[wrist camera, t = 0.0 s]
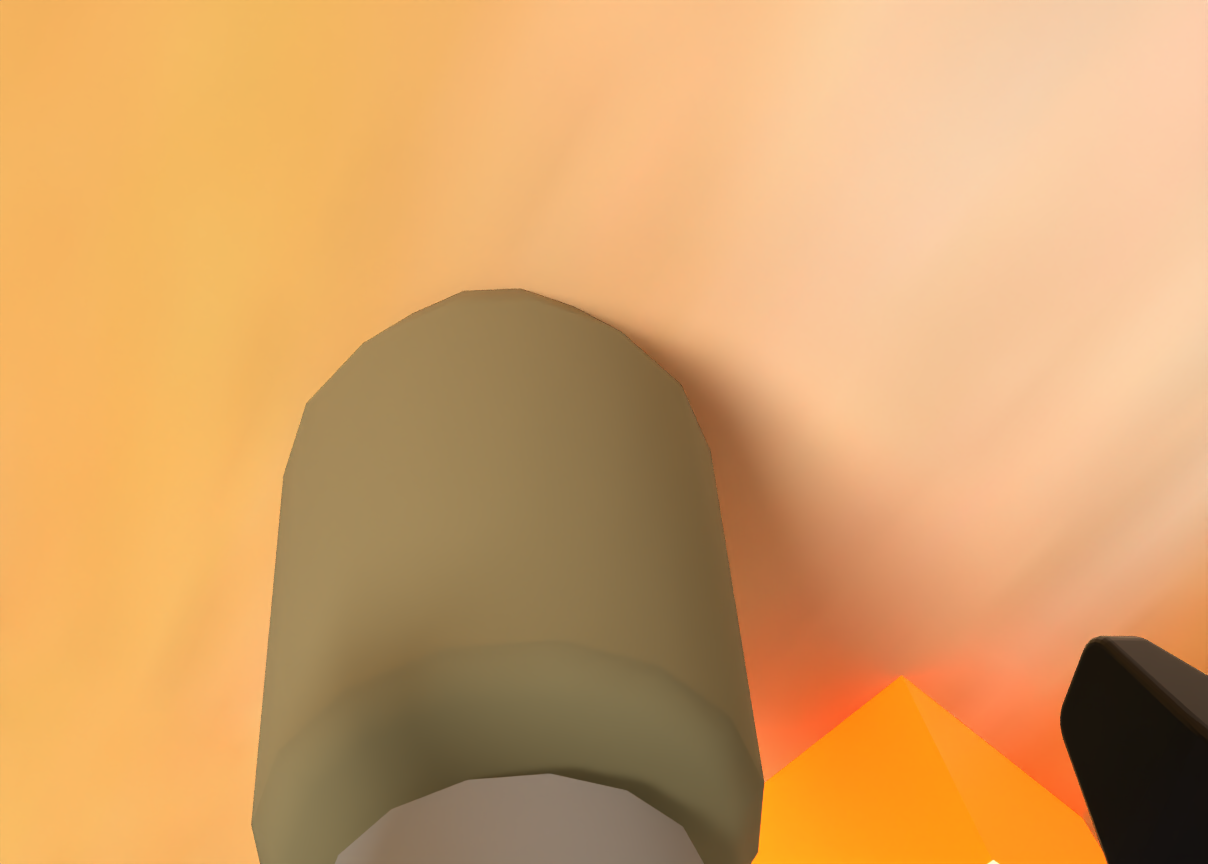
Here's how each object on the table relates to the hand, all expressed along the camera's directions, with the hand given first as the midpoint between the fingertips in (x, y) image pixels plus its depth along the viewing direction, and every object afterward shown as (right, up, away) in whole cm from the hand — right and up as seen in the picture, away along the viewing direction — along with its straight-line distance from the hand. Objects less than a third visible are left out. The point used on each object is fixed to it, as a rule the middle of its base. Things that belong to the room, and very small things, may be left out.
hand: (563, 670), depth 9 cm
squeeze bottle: (-2, +3, +15) cm, 16 cm away
